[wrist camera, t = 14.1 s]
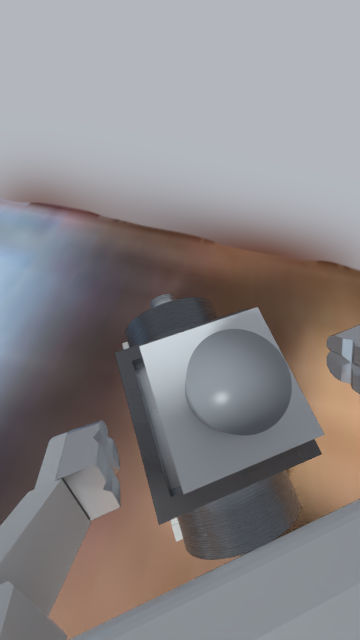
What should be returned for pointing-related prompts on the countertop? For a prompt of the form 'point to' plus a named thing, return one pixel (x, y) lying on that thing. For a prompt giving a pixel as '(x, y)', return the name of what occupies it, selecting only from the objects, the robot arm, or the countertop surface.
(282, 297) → the countertop surface
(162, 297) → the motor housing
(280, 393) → the ball-topped white cube
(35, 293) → the countertop surface
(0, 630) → the robot arm
